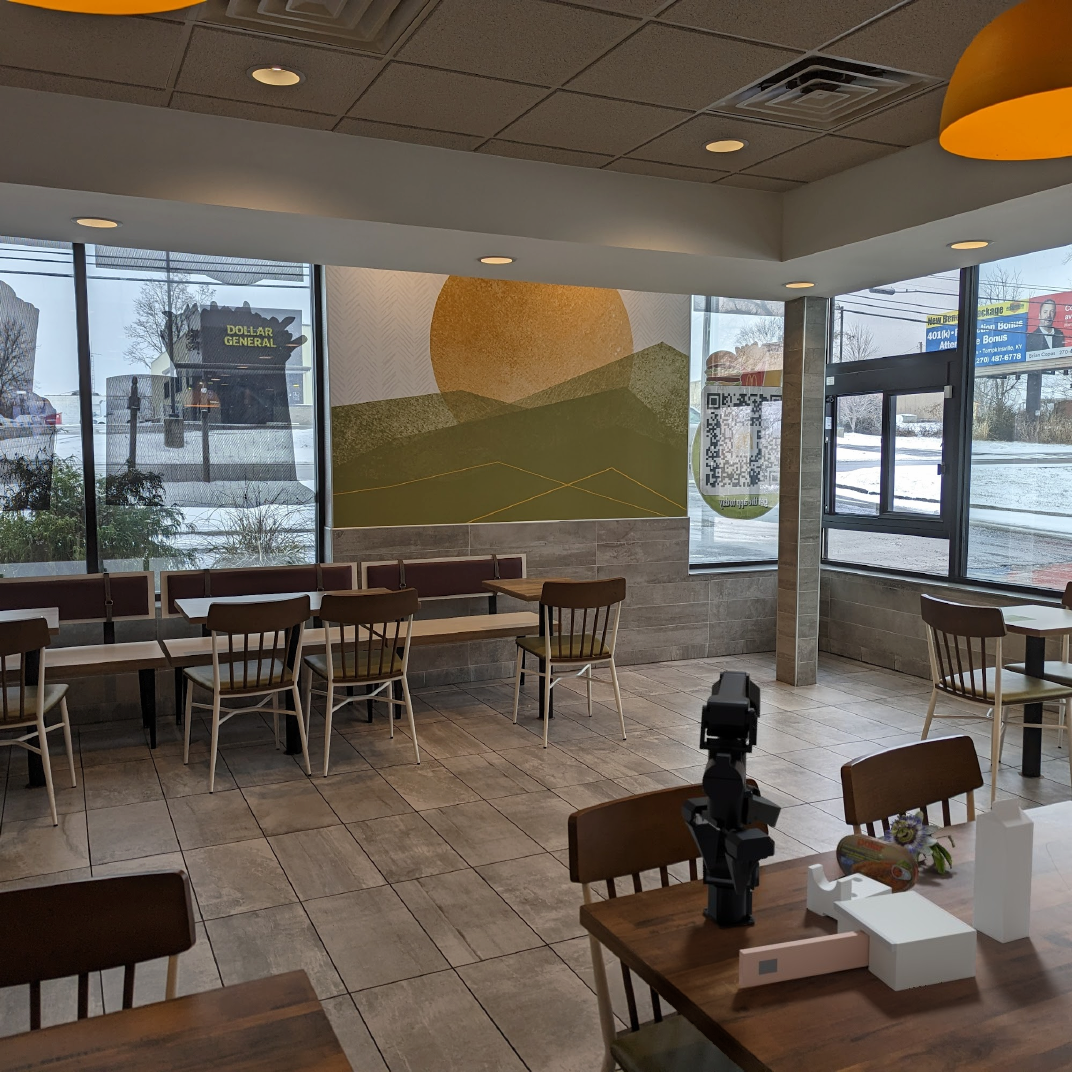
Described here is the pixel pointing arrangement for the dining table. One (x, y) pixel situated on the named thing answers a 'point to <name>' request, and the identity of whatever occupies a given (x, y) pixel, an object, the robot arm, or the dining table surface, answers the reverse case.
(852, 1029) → the dining table surface
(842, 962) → the pink plank
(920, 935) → the white box
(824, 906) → the bracket
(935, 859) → the passion flower
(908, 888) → the tin
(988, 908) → the milk
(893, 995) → the dining table surface
